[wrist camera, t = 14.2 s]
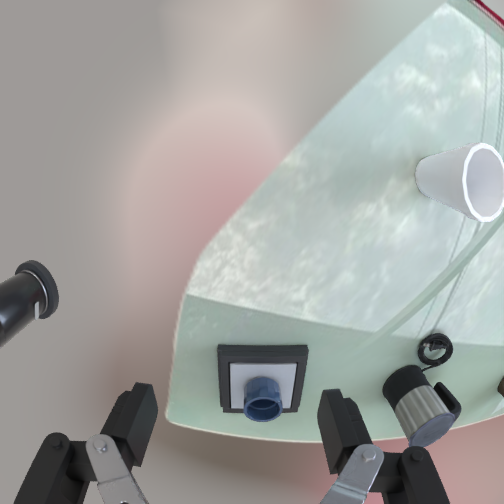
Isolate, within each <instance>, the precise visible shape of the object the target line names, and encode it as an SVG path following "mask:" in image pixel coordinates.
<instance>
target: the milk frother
mask: <svg viewBox="0 0 504 504" xmlns="http://www.w3.org/2000/svg"><path fill="white" fill-rule="evenodd" d="M425 347H429V350H430V351H432V350H437V349H441V348H444V349H445V348H446V352H445V354H444V355H443V356H442V357H440V358H438V359H435V360H431V359H428V358H427V357H426V356H425V355H424V349H425ZM452 353H453V346H452V343H451V341H450V339H449V338H448V337H447V336H446V335H444V334H441V333H435V334H431V335H429V336H428V337H426V338H425V339H424V340H423V341H422V343H421V345H420V347H419V350H418V356H419V358H420V360H421V362H423V363H424V364H426V365H432V366H430V367H427V368H424V369H422V370H421V368H420V367H418V366H414V365H411V366H406V367H404V368H402V369H400V370H398V371H397V372H395V373H394V374H393V375H392V376H391V377H390V378H389V379H388V380H387V382H386V383H385V385H384V387H383V395H384V397H385V398H386V399H387V400H388V402H389V403H390V405H391V407H392V409H393V410H394V413H395V415H396V417H397V419H398V421H399V423H400V425H401V427H402V429H403V431H404V433H405V435H406V437H407V439H408V441H409V447H411V446H421V447H426V446H428V445H430V444H432V443H434V442H435V441H437V440H438V439H440V438H441V437H442V436H443V435H444V434H445V433H447V431H448V430H449V429H450V428H451V426H452V425H453V423H454V422H455V421H456V419H457V418H458V416H459V415H460V413H461V405H460V403H459V402H458V401H457V399H456V398H455V397H454V396H453V395H452V394H451V392H450V391H449V390H448V389H447V388H446V387H445V386H444V385H443V384H442V383H441V382H437V383H436V385H435V386H434V388H432V386H431V385H430V384H429V382H428V381H427V379H426V377H425V375H424V374H423V371H425V370H427V369H429V368H433V367H436V366H439V365H441V364H443V363H444V362H446V361H447V360H448V359H449V358H450V357H451V355H452Z"/></svg>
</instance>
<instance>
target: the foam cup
mask: <svg viewBox="0 0 504 504" xmlns="http://www.w3.org/2000/svg"><path fill="white" fill-rule="evenodd" d="M415 178H416V184H417V186H418V188H419V190H420V191H421V193H423V194H424V195H426V196H427V197H429V198H431V199H433V200H436V201H438V202H440V203H442V204H444V205H447V206H449V207H451V208H453V209H455V210H457V211H459V212H461V213H463V214H465V215H466V216H467V217H468V218H470V219H474V220H477V221H480V222H491V221H492V220H494V219H495V218H496V217H497V216H498V215H500V213H501V211H502V209H503V207H504V163H503V161H502V158H501V156H500V154H499V153H498V152H497V151H496V150H495V149H494V148H493V147H492V146H491V145H488V144H484V143H469V144H467V145H465V146H463V147H460V148H456V149H452V150H449V151H445V152H442V153H438V154H434V155H431V156H428V157H426V158H424V159H422V160H420V162H419V164H418V165H417V167H416V173H415Z"/></svg>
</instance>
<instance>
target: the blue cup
mask: <svg viewBox="0 0 504 504" xmlns="http://www.w3.org/2000/svg"><path fill="white" fill-rule="evenodd" d="M282 410H283V404H282V397H281V389H280V386H279V384H278V383H277V382H276V381H274V380H273V379H270V378H266V377H260V378H255V379H253V380H251V381H249V382H248V383H247V384H246V386H245V387H244V410H243V412H244V414H245V415H246V417H248V418H249V419H251V420H253V421H257V422H267V421H271V420H274V419H275V418H277V417H279V416H280V414H281V413H282Z"/></svg>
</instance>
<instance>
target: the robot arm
mask: <svg viewBox="0 0 504 504" xmlns="http://www.w3.org/2000/svg"><path fill="white" fill-rule="evenodd" d="M48 306H49V295H48V291H47V288H46V286H45V284H44V282H43V280H42V279H41V278H40V276H39V275H38V274H37V273H35V272H34V271H32V270H29V269H25V270H23V271H21V272H20V273H18V274H17V275H15V276H13V277H11V278H9V279H8V280H6V281H4V282H2V283H1V284H0V348H2V347H3V346H4V345H5V344H6V343H7V342H8V341H9V340H11V339H12V338H13V337H14V336H15V335H16V334H18V333H19V332H20V331H21V330H22V329H24V328H25V327H26V326H27V325H28V324H30V323H31V322H32V321H33V320H36V319H38V318H39V316H40V315H41V314H43V313H44V312H45V311H46V310H47V309H48ZM157 414H158V407H157V402H156V398H155V394H154V390H153V386H152V385H151V384H145V383H138V382H136V383H135V385H134V387H133V389H132V391H125V392H124V393H122V394H121V395H120V396H119V397H118V399H117V401H116V403H115V406H114V407H113V409H112V412H111V413H110V414H109V416H108V419H107V420H106V423H105V425H104V427H103V429H102V430H101V433H100V434H98V435H94V436H92V437H91V438H89V439H88V441H70V440H69V439H68V437H67V436H66V435H64V434H62V433H51V434H49V435H48V436H47V437H46V438H45V440H44V441H43V443H42V445H41V447H40V449H39V451H38V453H37V455H36V457H35V459H34V461H33V463H32V465H31V467H30V469H29V471H28V473H27V475H26V477H25V479H24V481H23V484H22V486H21V488H20V490H19V492H18V495H17V497H16V499H15V501H14V504H83V501H84V498H85V495H86V492H87V489H88V486H89V483H90V481H98V484H97V486H98V490H99V492H100V494H101V496H102V499H103V501H104V504H149V503H148V501H147V500H146V498H145V497H144V495H143V493H142V491H141V489H140V488H139V486H138V484H137V482H136V480H135V479H134V477H133V475H132V473H131V470H132V467H133V466H138V467H141V464H142V461H143V458H144V455H145V451H146V448H147V445H148V442H149V439H150V436H151V433H152V430H153V427H154V424H155V421H156V418H157ZM317 419H318V425H319V429H320V433H321V437H322V441H323V445H324V449H325V453H326V458H327V462H328V466H329V470H330V474H336V473H338V476H339V477H338V478H337V480H336V481H335V483H334V484H333V485H332V486H331V488H330V489H329V491H328V493H327V494H326V495H325V497H324V498H323V500H322V501H321V502H320V504H363V503H364V501H365V500H366V497H367V493H368V492H381V493H382V497H383V501H384V504H450V502H449V499H448V497H447V495H446V492H445V489H444V487H443V484H442V482H441V479H440V477H439V475H438V472H437V470H436V468H435V465H434V463H433V461H432V459H431V456H430V454H429V452H428V451H427V450H426V449H425V448H423V447H421V446H411V447H408V448H407V449H405V450H404V452H403V453H388V452H383V451H382V450H381V449H380V448H379V447H377V446H376V445H373V443H372V441H371V438H370V436H369V433H368V431H367V428H366V426H365V423H364V421H363V420H362V419H363V418H362V416H361V414H360V411H359V409H358V406H357V404H356V403H355V402H354V401H353V400H352V399H351V398H343V396H342V394H341V391H340V389H329V390H323V392H322V396H321V400H320V404H319V408H318V414H317Z"/></svg>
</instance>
